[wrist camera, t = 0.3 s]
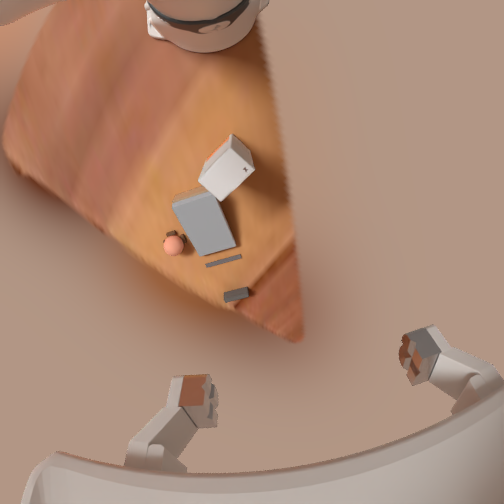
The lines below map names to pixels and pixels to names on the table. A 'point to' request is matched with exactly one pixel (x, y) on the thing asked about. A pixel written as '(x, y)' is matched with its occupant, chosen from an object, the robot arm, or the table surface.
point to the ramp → (203, 221)
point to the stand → (175, 233)
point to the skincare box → (226, 168)
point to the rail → (236, 294)
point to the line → (223, 261)
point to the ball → (173, 245)
